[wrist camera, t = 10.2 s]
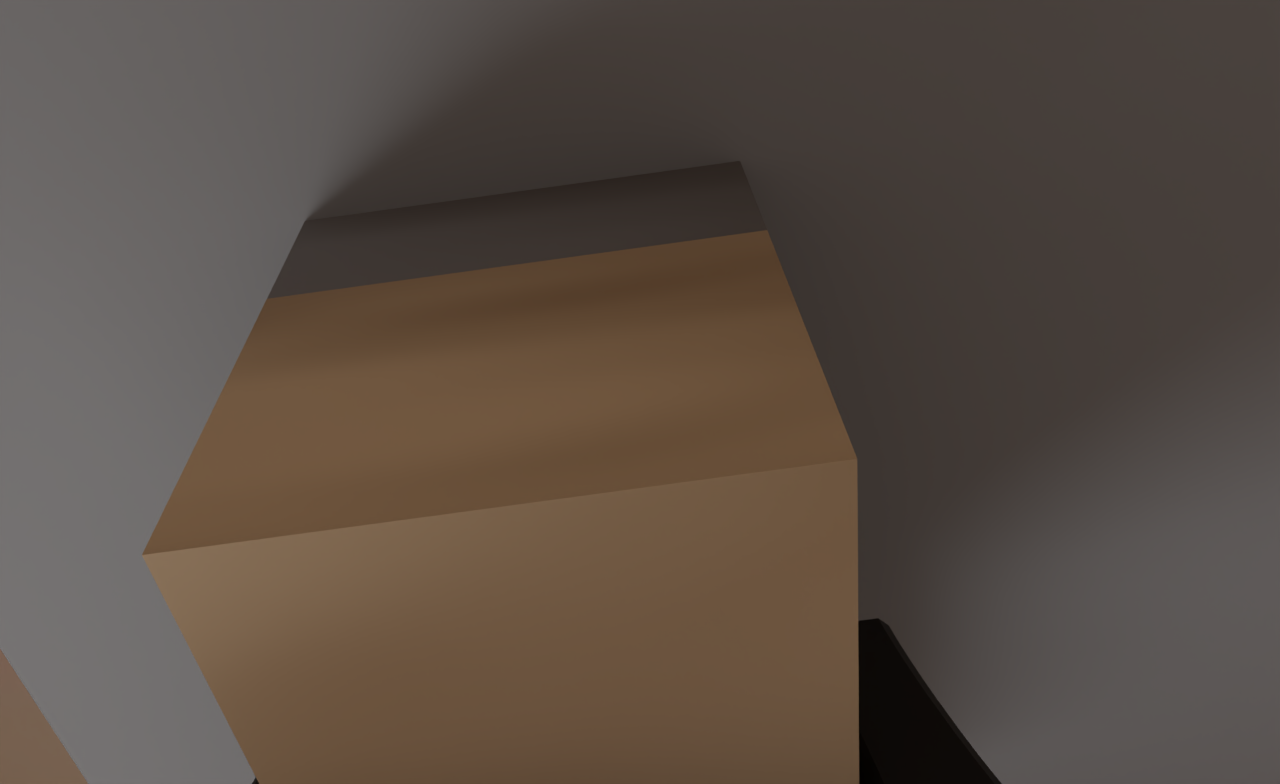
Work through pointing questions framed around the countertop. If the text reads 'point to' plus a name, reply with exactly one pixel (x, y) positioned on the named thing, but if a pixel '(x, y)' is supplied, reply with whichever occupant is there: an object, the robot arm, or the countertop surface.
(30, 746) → the countertop surface
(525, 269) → the block
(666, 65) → the board
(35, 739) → the countertop surface
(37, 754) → the countertop surface
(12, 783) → the countertop surface
